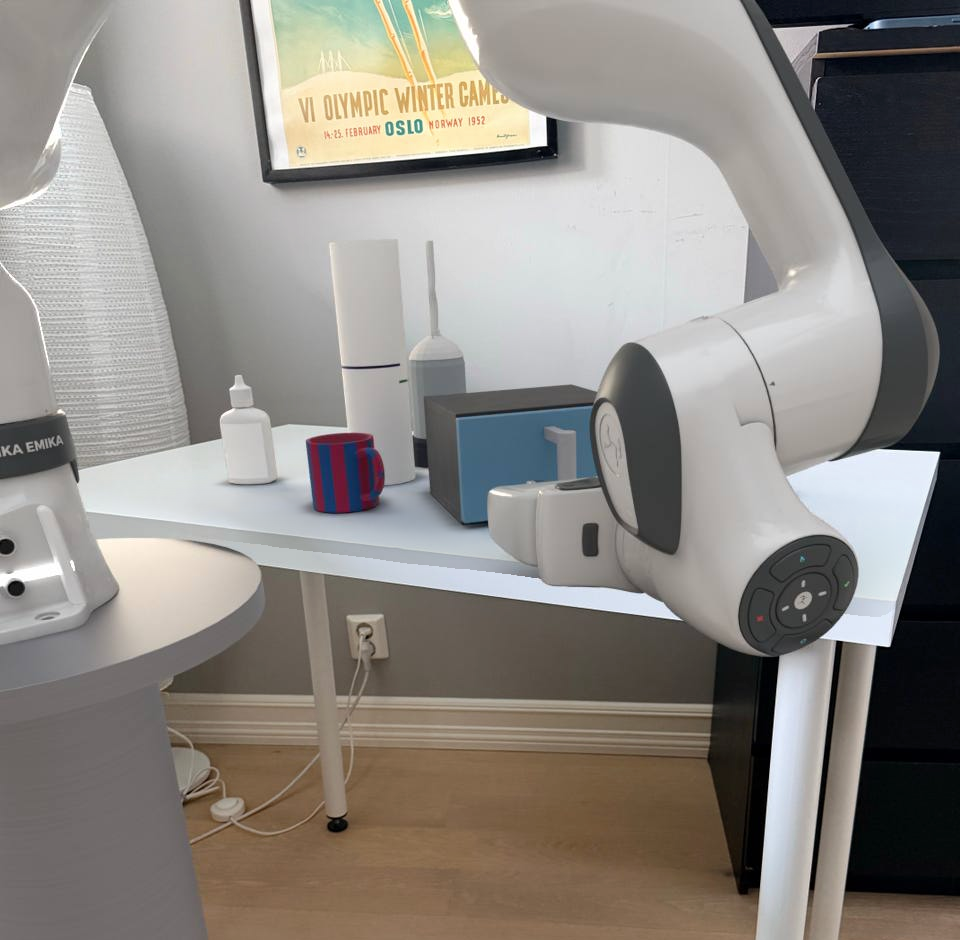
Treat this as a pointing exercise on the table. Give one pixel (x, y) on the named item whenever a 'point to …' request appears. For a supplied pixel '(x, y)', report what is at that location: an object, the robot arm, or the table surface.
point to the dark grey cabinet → (452, 406)
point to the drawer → (520, 452)
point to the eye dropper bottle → (247, 439)
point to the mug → (344, 472)
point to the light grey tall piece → (432, 368)
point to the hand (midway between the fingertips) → (591, 484)
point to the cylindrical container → (374, 349)
